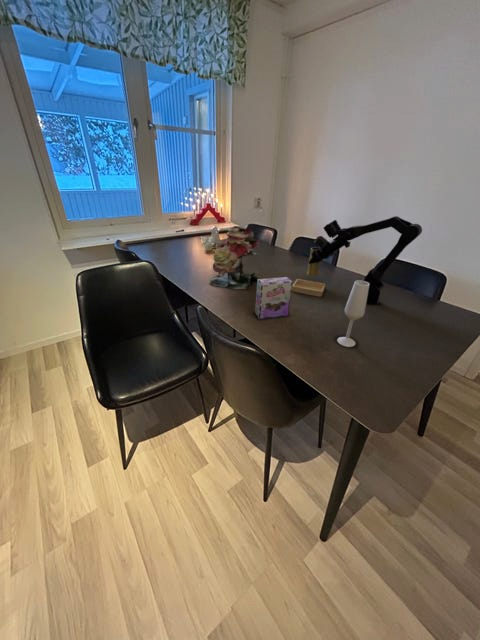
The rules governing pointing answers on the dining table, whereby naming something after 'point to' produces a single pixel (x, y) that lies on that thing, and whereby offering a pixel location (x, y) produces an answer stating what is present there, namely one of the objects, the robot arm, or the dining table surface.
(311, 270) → the vase
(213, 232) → the chinaware
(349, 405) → the dining table surface
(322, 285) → the tray
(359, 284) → the champagne flute
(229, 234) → the rose bouquet
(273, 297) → the candy box
